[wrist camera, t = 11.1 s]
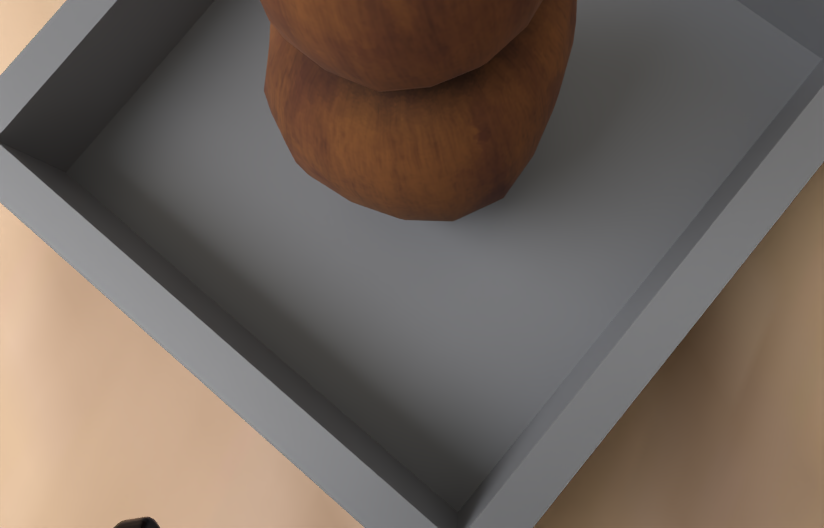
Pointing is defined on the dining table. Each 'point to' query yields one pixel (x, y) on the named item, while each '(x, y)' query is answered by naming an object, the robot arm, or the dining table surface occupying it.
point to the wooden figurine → (416, 96)
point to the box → (416, 238)
